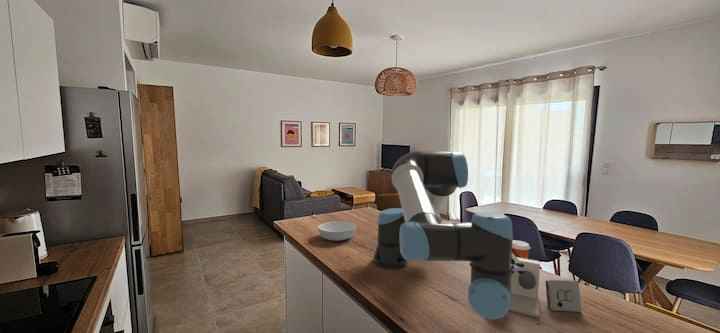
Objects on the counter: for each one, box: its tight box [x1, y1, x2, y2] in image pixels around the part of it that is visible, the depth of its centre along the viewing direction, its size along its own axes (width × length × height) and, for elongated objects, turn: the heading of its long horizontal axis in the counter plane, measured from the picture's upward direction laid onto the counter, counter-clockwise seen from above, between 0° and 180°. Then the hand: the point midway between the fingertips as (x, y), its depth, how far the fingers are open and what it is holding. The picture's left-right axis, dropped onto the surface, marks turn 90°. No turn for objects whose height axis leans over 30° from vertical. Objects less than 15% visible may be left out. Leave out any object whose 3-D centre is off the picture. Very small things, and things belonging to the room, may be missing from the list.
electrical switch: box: [545, 279, 582, 313], centre depth 97 cm, size 9×5×9 cm, turn 86°
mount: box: [509, 257, 541, 319], centre depth 101 cm, size 18×14×13 cm
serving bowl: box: [317, 221, 357, 242], centre depth 163 cm, size 21×21×7 cm
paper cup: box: [512, 239, 531, 259], centre depth 118 cm, size 8×8×14 cm
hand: (499, 248), depth 90 cm, fingers closed
